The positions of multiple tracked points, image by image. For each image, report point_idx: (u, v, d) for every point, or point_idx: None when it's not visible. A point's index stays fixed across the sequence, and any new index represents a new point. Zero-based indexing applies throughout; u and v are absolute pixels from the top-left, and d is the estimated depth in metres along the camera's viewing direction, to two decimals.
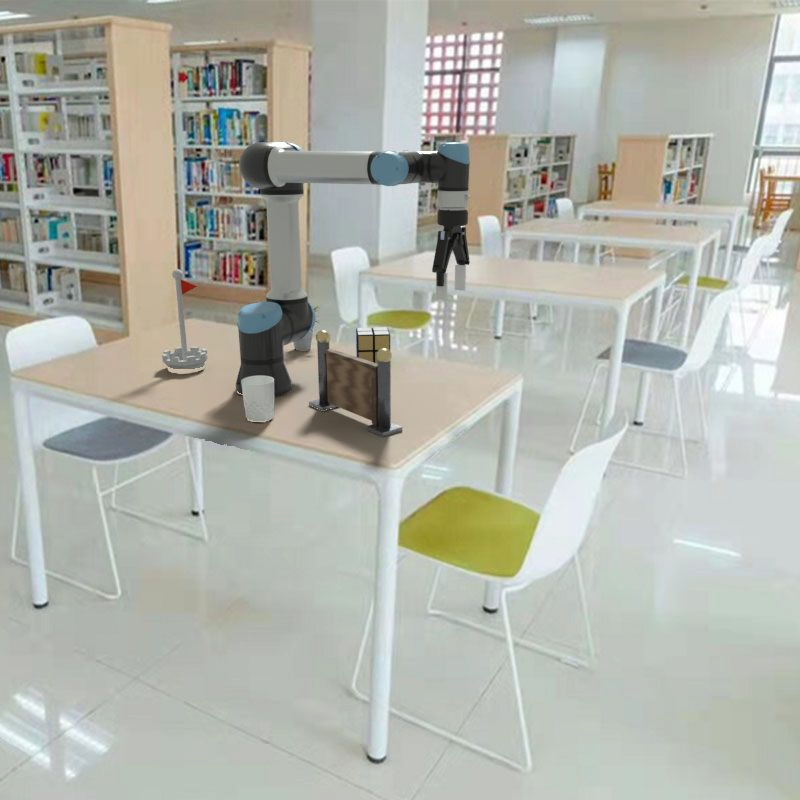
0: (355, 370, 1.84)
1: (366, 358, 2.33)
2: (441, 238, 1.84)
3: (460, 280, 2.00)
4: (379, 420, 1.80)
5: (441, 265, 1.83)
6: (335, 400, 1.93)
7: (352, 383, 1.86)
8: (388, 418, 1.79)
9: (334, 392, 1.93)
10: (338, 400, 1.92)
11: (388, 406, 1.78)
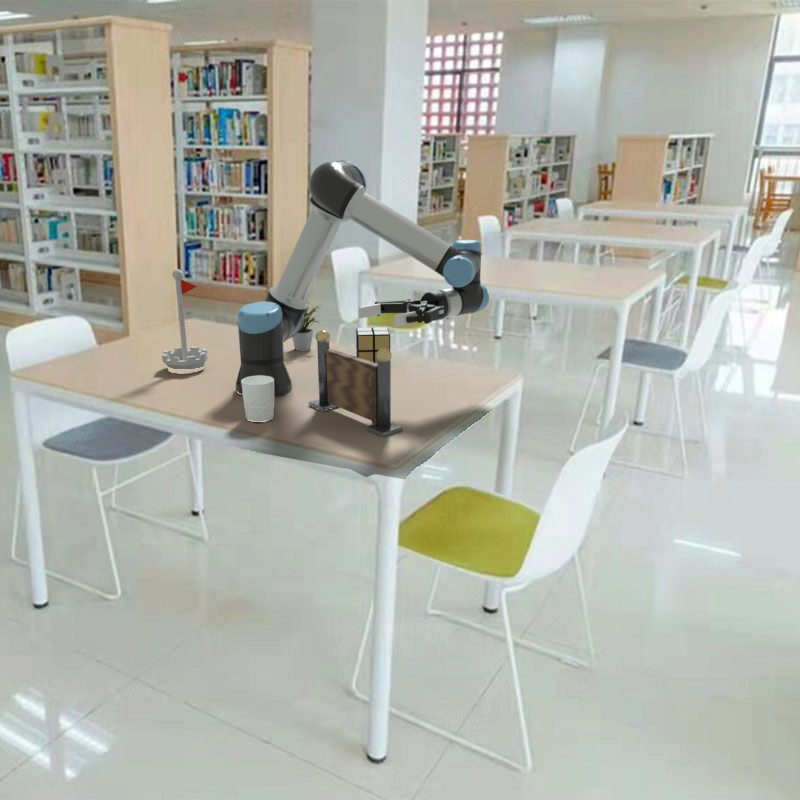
0: (355, 370, 1.84)
1: (366, 358, 2.33)
2: (439, 311, 1.91)
3: (368, 312, 1.93)
4: (379, 420, 1.80)
5: (429, 321, 1.86)
6: (335, 400, 1.93)
7: (352, 383, 1.86)
8: (388, 418, 1.79)
9: (334, 392, 1.93)
10: (338, 400, 1.92)
11: (388, 406, 1.78)
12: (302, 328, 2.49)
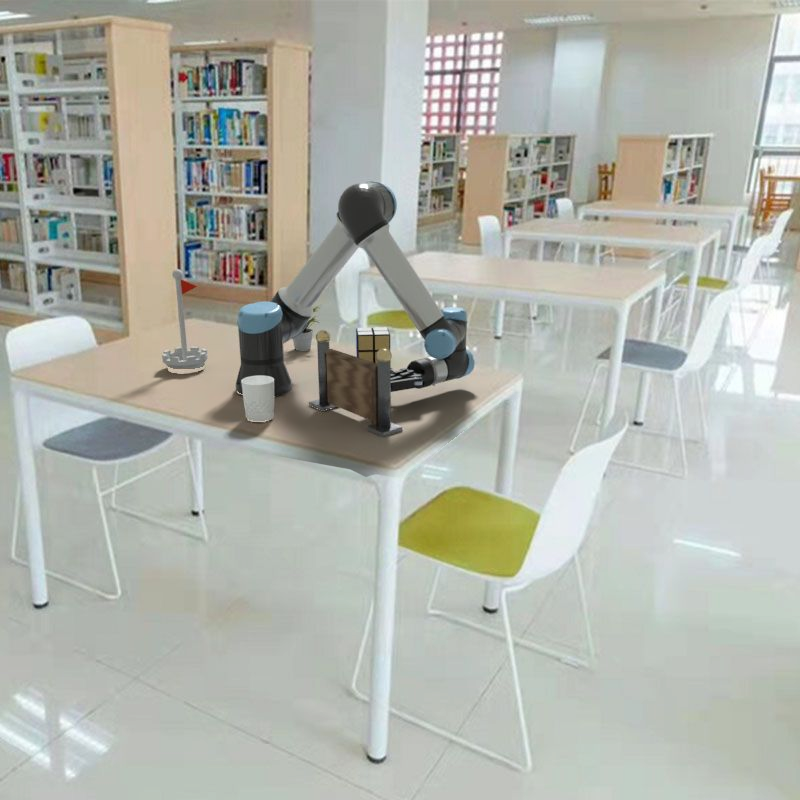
0: (355, 370, 1.84)
1: (366, 358, 2.33)
2: (415, 382, 1.93)
3: None
4: (379, 420, 1.80)
5: (392, 390, 1.91)
6: (335, 400, 1.93)
7: (352, 383, 1.86)
8: (388, 418, 1.79)
9: (334, 392, 1.93)
10: (338, 400, 1.92)
11: (388, 406, 1.78)
12: None
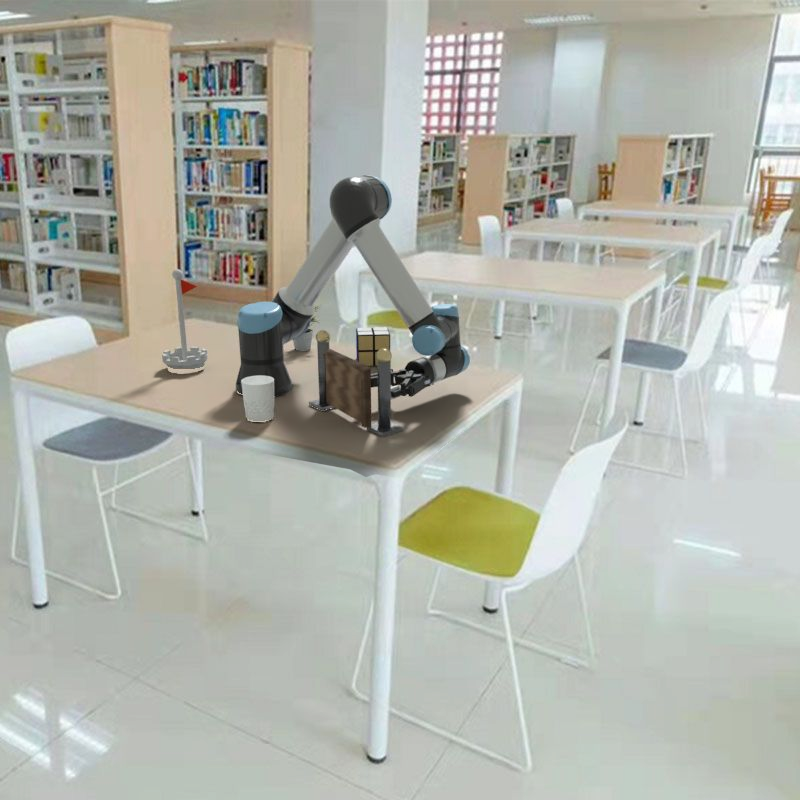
0: (348, 371, 1.83)
1: (366, 358, 2.33)
2: (425, 381, 1.90)
3: None
4: (379, 420, 1.80)
5: (414, 394, 1.85)
6: (332, 401, 1.93)
7: (346, 384, 1.85)
8: (388, 418, 1.79)
9: (331, 392, 1.93)
10: (335, 401, 1.92)
11: (388, 406, 1.78)
12: None
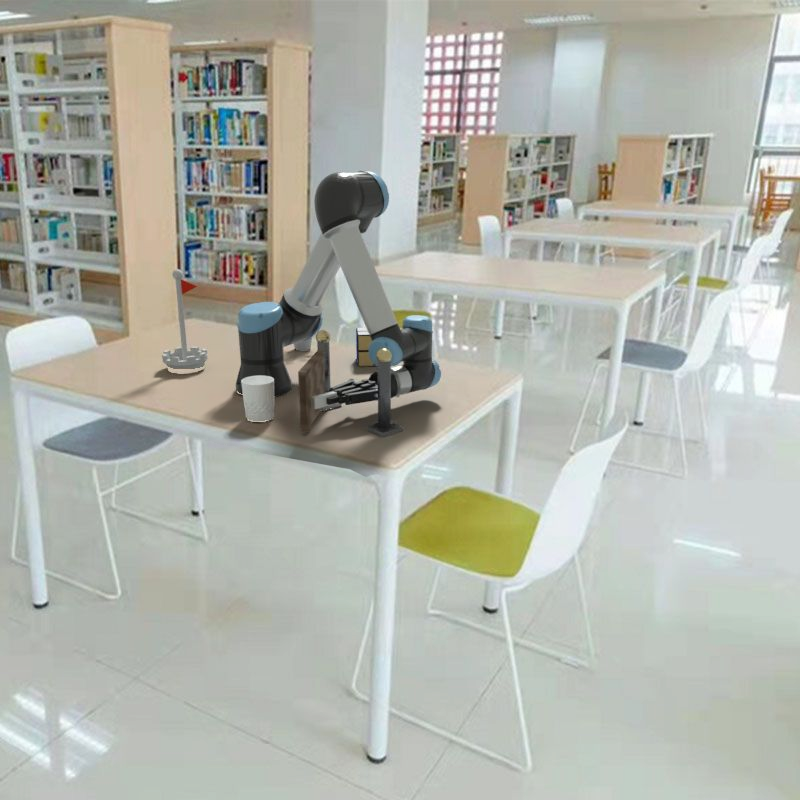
0: None
1: (366, 358, 2.33)
2: (376, 394, 1.84)
3: None
4: (379, 420, 1.80)
5: (351, 403, 1.82)
6: None
7: None
8: (388, 418, 1.79)
9: None
10: None
11: (388, 406, 1.78)
12: None
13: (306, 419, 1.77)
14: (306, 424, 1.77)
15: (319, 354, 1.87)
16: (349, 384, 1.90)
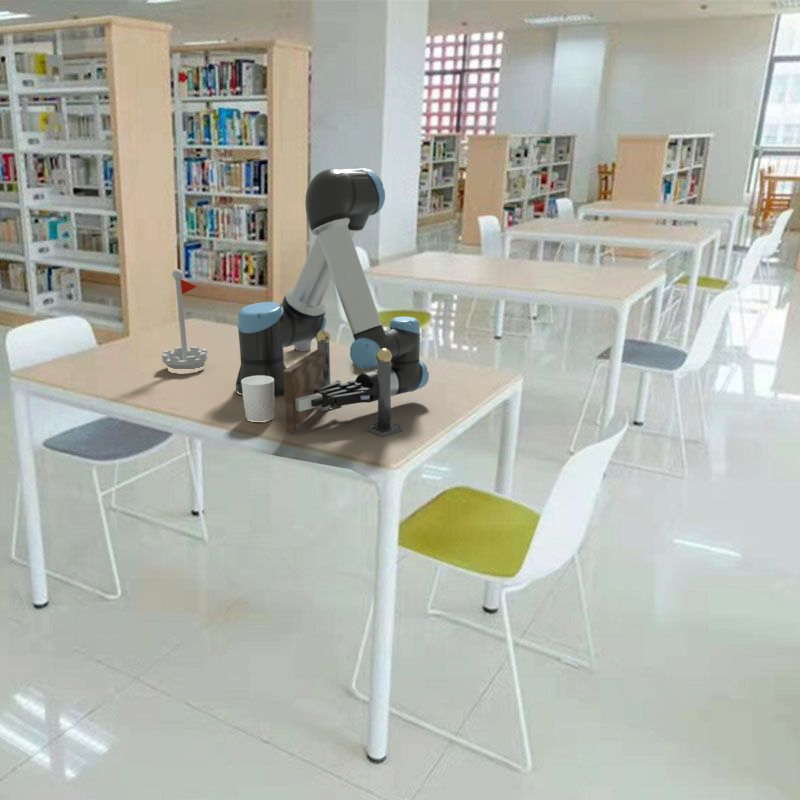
0: None
1: None
2: (362, 396, 1.83)
3: None
4: (379, 420, 1.80)
5: (336, 405, 1.80)
6: None
7: None
8: (388, 418, 1.79)
9: None
10: None
11: (388, 406, 1.78)
12: None
13: (291, 418, 1.77)
14: (291, 423, 1.78)
15: (315, 354, 1.88)
16: (335, 386, 1.89)
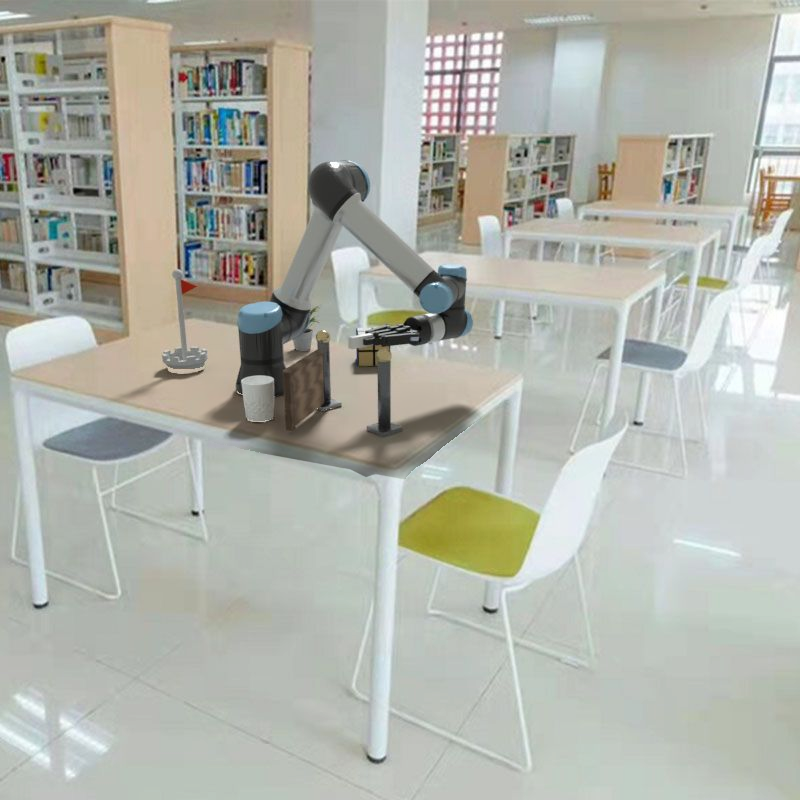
0: None
1: (366, 358, 2.33)
2: (411, 337, 1.88)
3: None
4: (379, 420, 1.80)
5: (387, 345, 1.85)
6: None
7: None
8: (388, 418, 1.79)
9: None
10: None
11: (388, 406, 1.78)
12: None
13: (290, 418, 1.77)
14: (290, 423, 1.78)
15: (315, 354, 1.88)
16: (384, 328, 1.94)
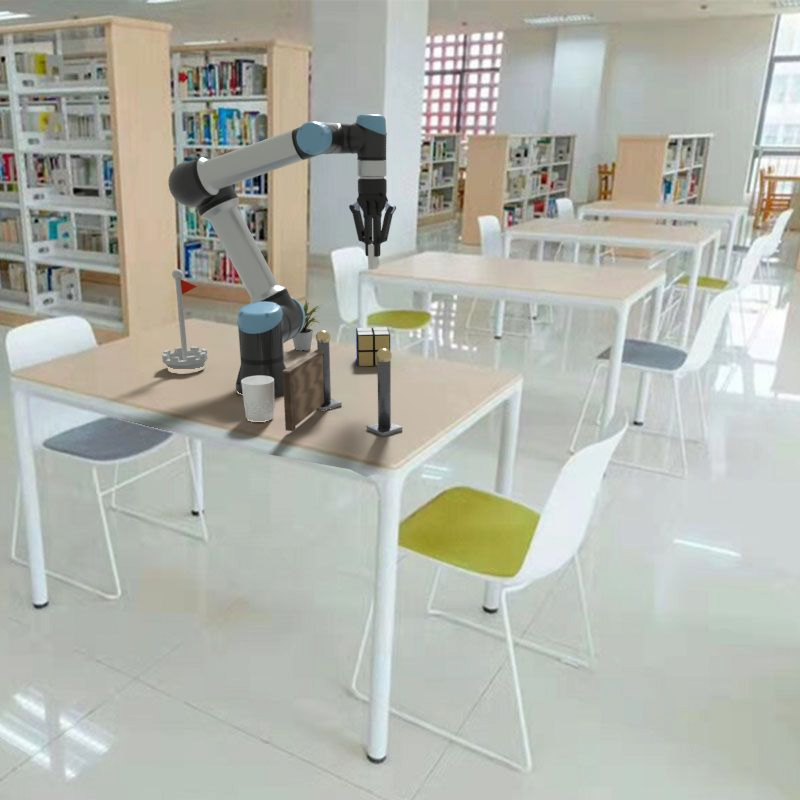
0: None
1: (366, 358, 2.33)
2: (391, 213, 2.00)
3: None
4: (379, 420, 1.80)
5: (387, 237, 2.04)
6: None
7: None
8: (388, 418, 1.79)
9: None
10: None
11: (388, 406, 1.78)
12: (302, 328, 2.49)
13: (290, 418, 1.77)
14: (290, 423, 1.78)
15: (315, 354, 1.88)
16: (357, 215, 2.03)
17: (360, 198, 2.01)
